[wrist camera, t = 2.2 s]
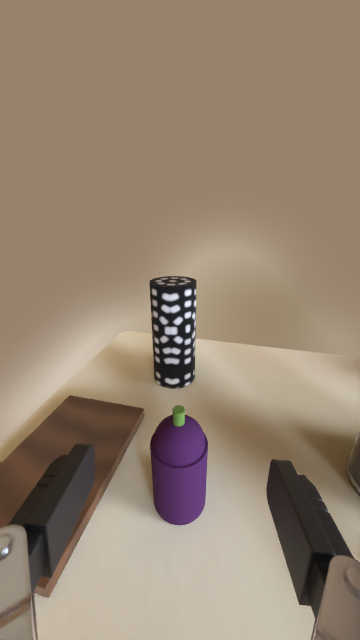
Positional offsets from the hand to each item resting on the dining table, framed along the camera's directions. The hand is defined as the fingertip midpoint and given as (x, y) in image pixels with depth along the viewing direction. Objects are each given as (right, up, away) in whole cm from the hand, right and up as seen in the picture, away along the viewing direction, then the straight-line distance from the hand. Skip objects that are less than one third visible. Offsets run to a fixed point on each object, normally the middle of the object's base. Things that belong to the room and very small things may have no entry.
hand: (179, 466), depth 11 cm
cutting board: (-15, -13, +22) cm, 29 cm away
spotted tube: (-1, -5, +40) cm, 41 cm away
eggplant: (0, -14, +18) cm, 23 cm away
